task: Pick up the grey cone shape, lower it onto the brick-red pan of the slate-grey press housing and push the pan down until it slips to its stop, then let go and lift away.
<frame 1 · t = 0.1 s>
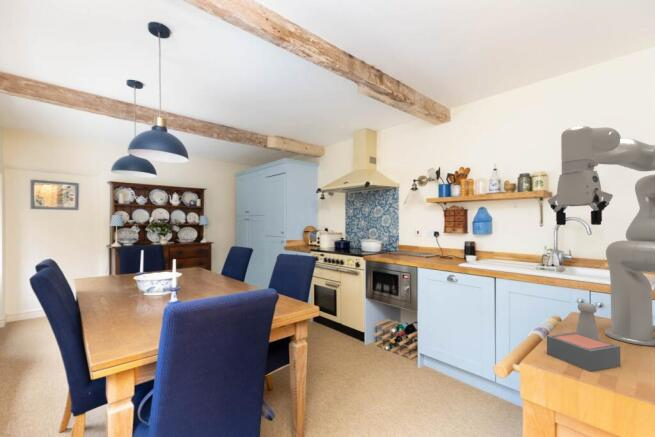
hand: (577, 224, 92), 37 cm above the worktop, tool pointing down, fingers open, 9 cm apart
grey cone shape: (587, 348, 90), on the worktop
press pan: (581, 342, 82), point 5 cm above the worktop, slide at 0.0 cm
press housing: (582, 359, 82), on the worktop
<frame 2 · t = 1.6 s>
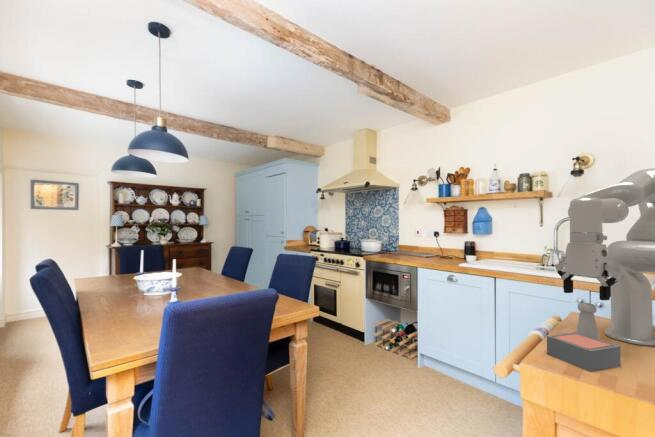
hand: (585, 296, 91), 15 cm above the worktop, tool pointing down, fingers open, 9 cm apart
nothing on the worktop moved.
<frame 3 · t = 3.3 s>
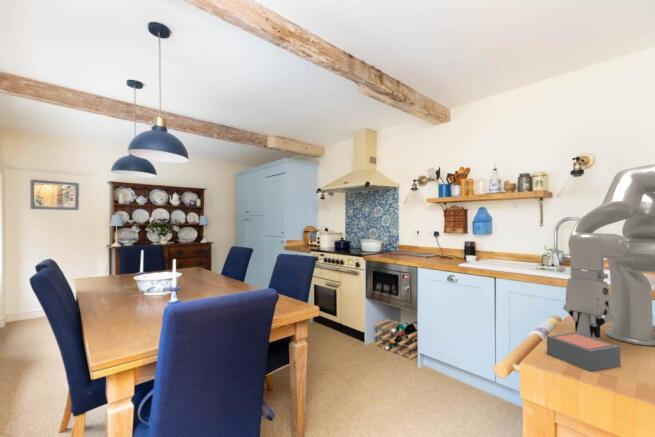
hand: (587, 336, 90), 3 cm above the worktop, tool pointing down, fingers closed on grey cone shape, 3 cm apart
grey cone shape: (587, 348, 90), on the worktop, touching gripper
everything else where it was.
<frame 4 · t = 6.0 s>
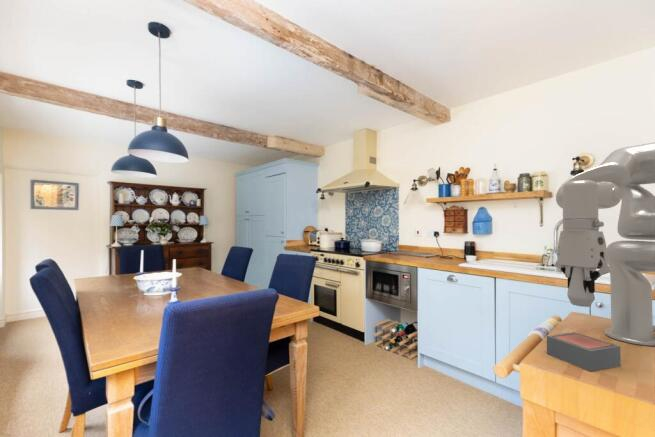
hand: (580, 293, 82), 18 cm above the worktop, tool pointing down, fingers closed on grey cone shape, 3 cm apart
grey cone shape: (580, 305, 82), point 14 cm above the worktop, touching gripper
everything else where it was.
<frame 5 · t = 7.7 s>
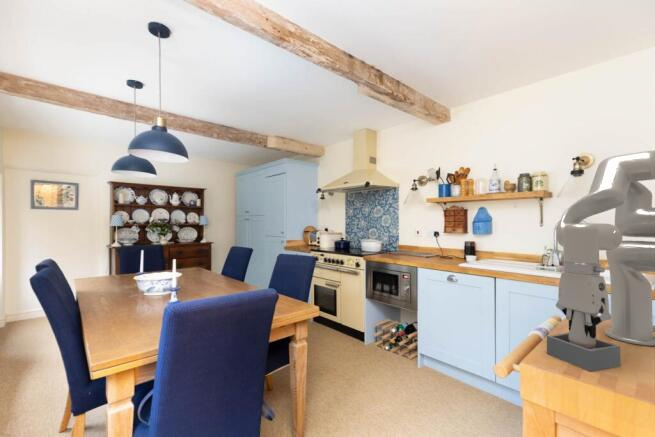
hand: (582, 336, 82), 6 cm above the worktop, tool pointing down, fingers closed on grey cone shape, 3 cm apart
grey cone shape: (582, 349, 82), point 3 cm above the worktop, touching gripper, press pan
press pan: (582, 350, 82), point 2 cm above the worktop, slide at 2.1 cm, touching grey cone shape
when the fingers open (6 cm above the worktop, at t = 8.5 s): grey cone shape stays where it is, resting on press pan.
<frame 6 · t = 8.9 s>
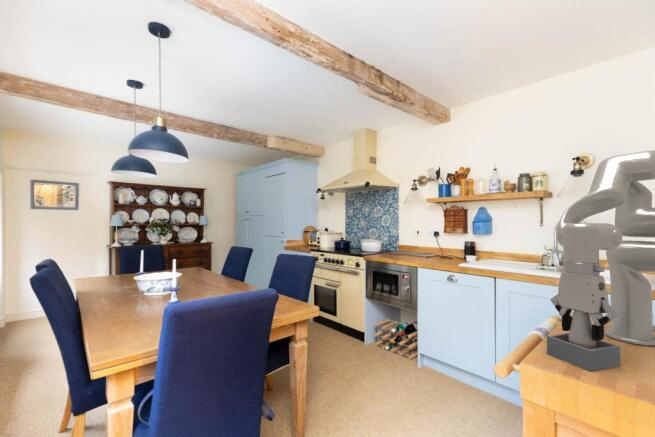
hand: (581, 334, 82), 7 cm above the worktop, tool pointing down, fingers open, 6 cm apart
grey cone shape: (582, 350, 82), point 2 cm above the worktop, touching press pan
everything else where it was.
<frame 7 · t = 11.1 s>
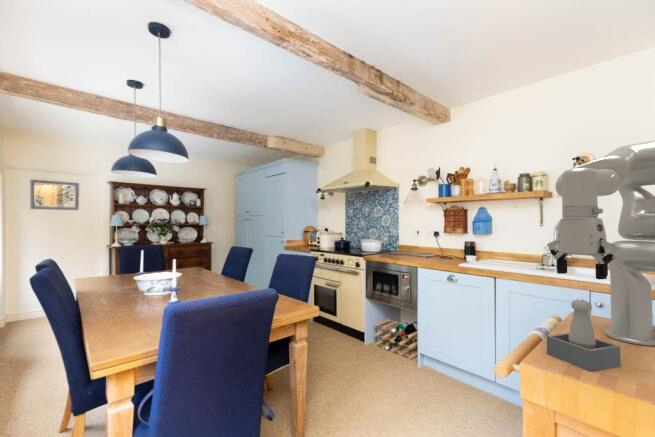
hand: (580, 276, 83), 22 cm above the worktop, tool pointing down, fingers open, 9 cm apart
nothing on the worktop moved.
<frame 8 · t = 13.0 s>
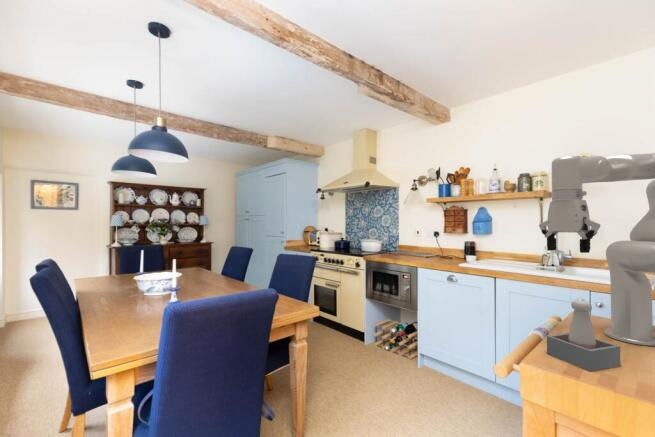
hand: (567, 251, 94), 28 cm above the worktop, tool pointing down, fingers open, 9 cm apart
nothing on the worktop moved.
at the end: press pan slide at 2.3 cm; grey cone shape 0.1 cm off-centre on the press housing, point 2.5 cm above the press housing's base; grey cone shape tilted 0° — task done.
